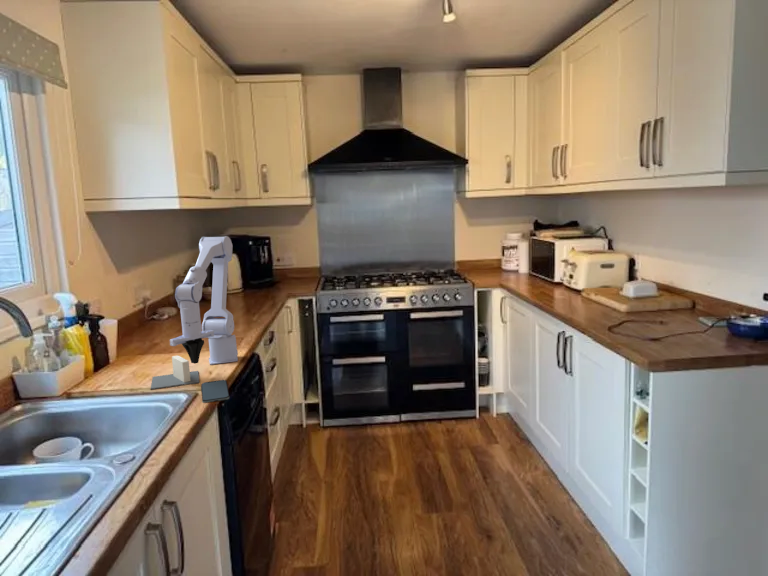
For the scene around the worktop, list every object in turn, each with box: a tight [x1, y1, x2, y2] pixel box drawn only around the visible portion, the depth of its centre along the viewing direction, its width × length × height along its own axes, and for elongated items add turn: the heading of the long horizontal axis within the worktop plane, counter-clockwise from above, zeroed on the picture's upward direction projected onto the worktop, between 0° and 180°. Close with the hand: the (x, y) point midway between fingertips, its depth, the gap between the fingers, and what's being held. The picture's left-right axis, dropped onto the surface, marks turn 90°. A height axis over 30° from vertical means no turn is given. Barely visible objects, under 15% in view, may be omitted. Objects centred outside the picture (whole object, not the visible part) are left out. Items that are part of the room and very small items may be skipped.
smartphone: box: [200, 379, 230, 404], centre depth 159 cm, size 8×2×15 cm
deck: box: [171, 355, 191, 382], centre depth 171 cm, size 2×9×6 cm, turn 41°
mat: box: [150, 370, 200, 390], centre depth 171 cm, size 14×12×1 cm
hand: (194, 362), depth 172 cm, fingers closed
